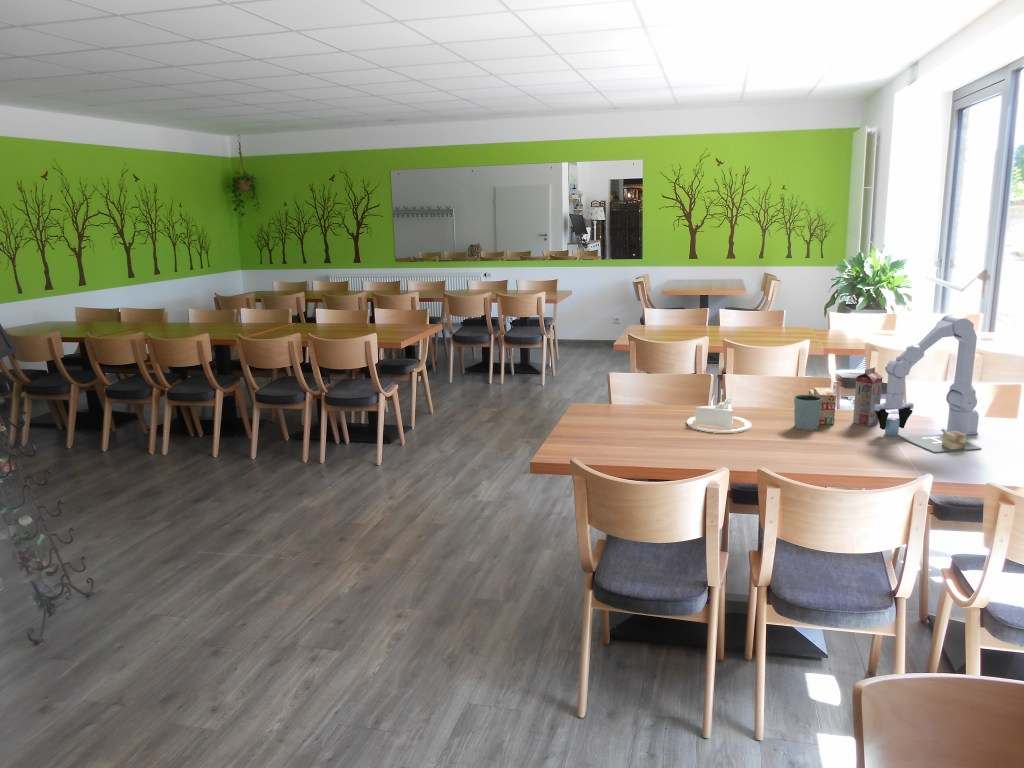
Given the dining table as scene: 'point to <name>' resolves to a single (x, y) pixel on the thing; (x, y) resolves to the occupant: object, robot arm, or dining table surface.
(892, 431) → the blue capsule
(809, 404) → the teal cup
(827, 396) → the stack of blocks
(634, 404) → the dining table surface
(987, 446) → the dining table surface
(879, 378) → the juice carton
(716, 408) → the dish
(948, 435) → the maple block
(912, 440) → the letter board
